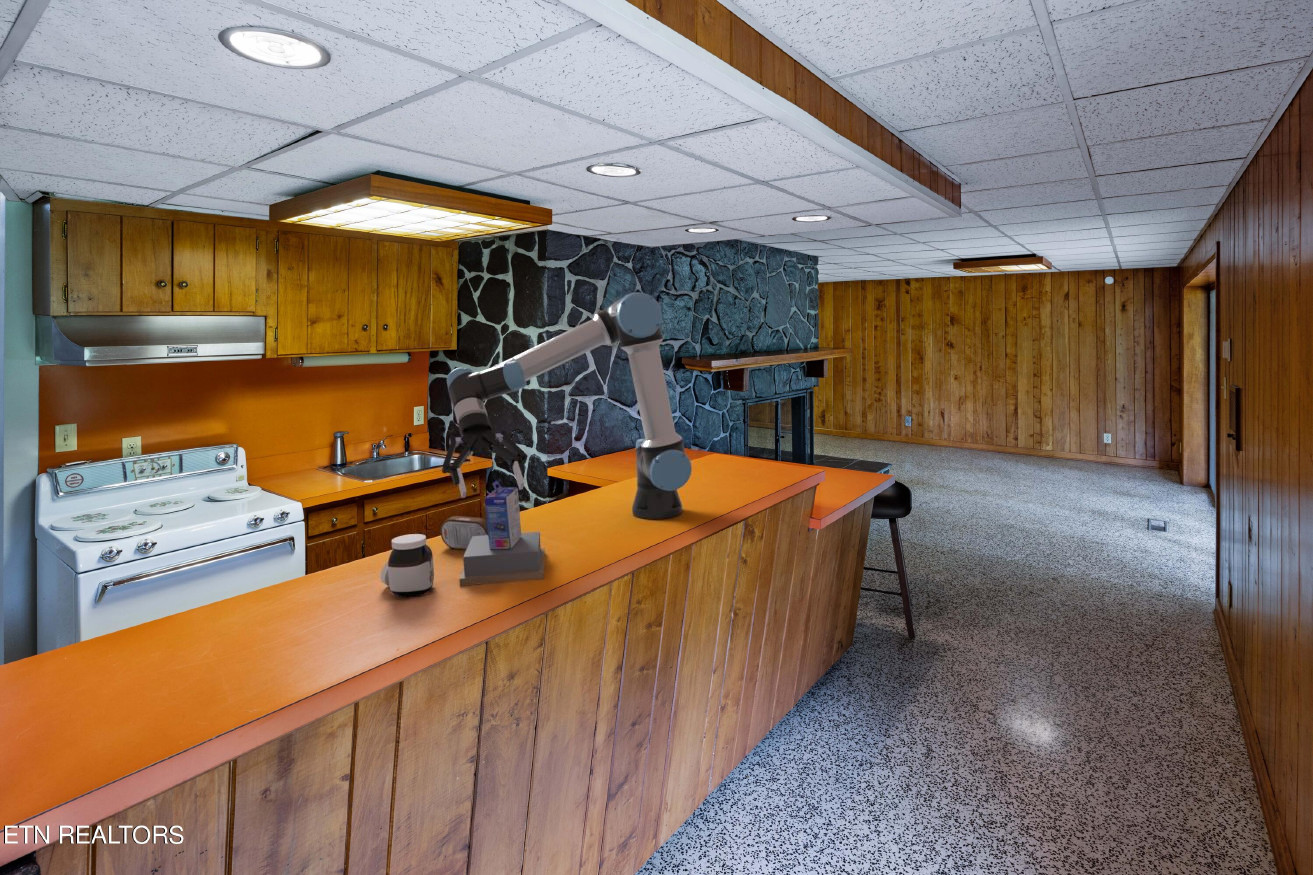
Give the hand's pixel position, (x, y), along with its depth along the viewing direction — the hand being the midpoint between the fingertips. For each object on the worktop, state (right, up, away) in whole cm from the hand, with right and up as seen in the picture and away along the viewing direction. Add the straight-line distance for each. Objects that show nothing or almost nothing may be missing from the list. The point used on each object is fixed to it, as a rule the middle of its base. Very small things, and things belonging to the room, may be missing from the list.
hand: (493, 490), depth 153 cm
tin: (-10, -17, +15) cm, 25 cm away
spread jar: (-16, -21, -12) cm, 28 cm away
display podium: (+3, -18, -1) cm, 18 cm away
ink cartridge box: (+3, -12, -1) cm, 13 cm away
